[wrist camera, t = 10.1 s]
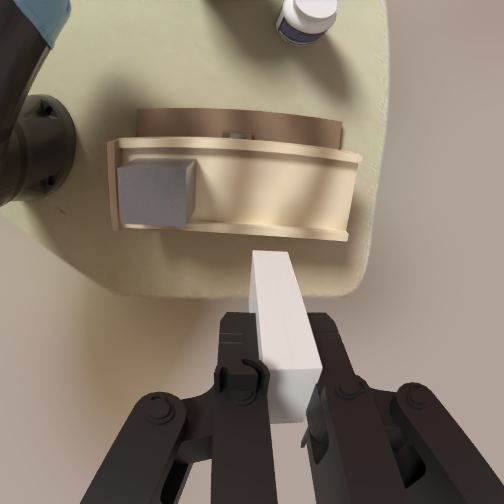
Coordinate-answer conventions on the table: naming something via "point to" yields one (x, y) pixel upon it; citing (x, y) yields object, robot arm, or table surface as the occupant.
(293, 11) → the pill bottle
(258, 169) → the balance beam
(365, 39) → the table surface
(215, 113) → the stand
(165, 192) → the block
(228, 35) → the table surface
